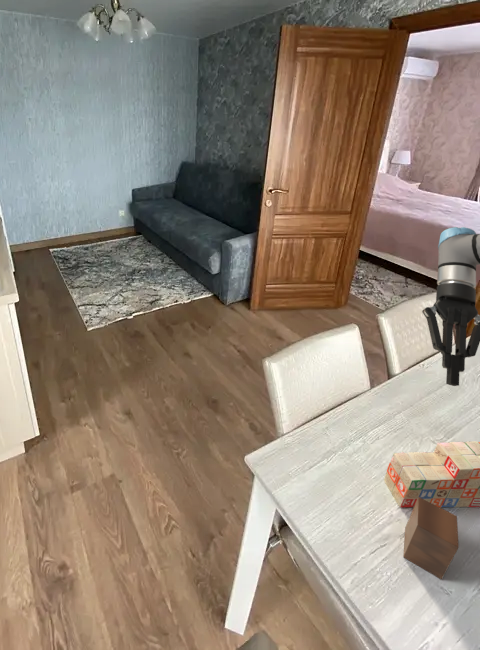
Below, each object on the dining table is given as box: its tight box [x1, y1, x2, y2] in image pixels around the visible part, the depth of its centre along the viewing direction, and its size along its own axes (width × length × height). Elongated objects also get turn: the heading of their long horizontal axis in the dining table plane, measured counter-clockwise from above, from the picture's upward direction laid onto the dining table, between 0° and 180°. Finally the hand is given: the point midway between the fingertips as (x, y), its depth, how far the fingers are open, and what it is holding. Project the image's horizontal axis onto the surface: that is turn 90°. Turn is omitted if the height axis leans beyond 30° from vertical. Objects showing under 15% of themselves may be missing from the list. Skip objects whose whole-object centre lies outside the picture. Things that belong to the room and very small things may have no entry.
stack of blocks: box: [383, 440, 480, 508], centre depth 75 cm, size 21×6×12 cm, turn 91°
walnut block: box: [402, 497, 460, 580], centre depth 65 cm, size 6×6×10 cm
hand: (452, 384), depth 78 cm, fingers closed
